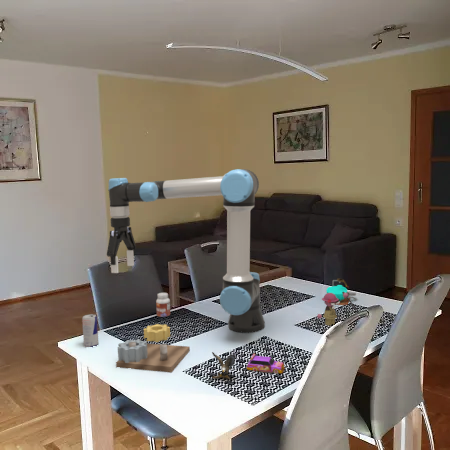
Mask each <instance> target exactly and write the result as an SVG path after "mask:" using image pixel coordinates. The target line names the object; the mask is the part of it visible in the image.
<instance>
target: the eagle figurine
mask: <svg viewBox="0 0 450 450" xmlns="http://www.w3.org/2000/svg"><path fill="white" fill-rule="evenodd" d="M211 353H212V356H213V357H215V359H217V360H218V364H219V366H220V367H221V372H217V375H215V376H212V378H213V379H216V378H217V379H220V378H225V379H228V380H230V379H231V378H230V376H229V370H230V371H231V370H232V368H231V367H233V366H234V365H235V361H236V359H237V358H236V357H237V356H236V355H235V354H232V353H231V354H229V355H228V356H227V357H226V358H225V362H223V360H222V359H221V357H220V356H218V355H217V354H216V353H215V352H213V351H212V352H211Z"/></svg>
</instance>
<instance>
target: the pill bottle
mask: <svg viewBox="0 0 450 450" xmlns="http://www.w3.org/2000/svg"><path fill="white" fill-rule="evenodd" d="M155 302H156V303H155V304H156V308H155V309H156V316H157V317H160V318H163V317H165V318H166V317H168V316H170V315H171V299H170V298H169V294H168V293H167V292H159V293H157V299H156V300H155Z"/></svg>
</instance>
